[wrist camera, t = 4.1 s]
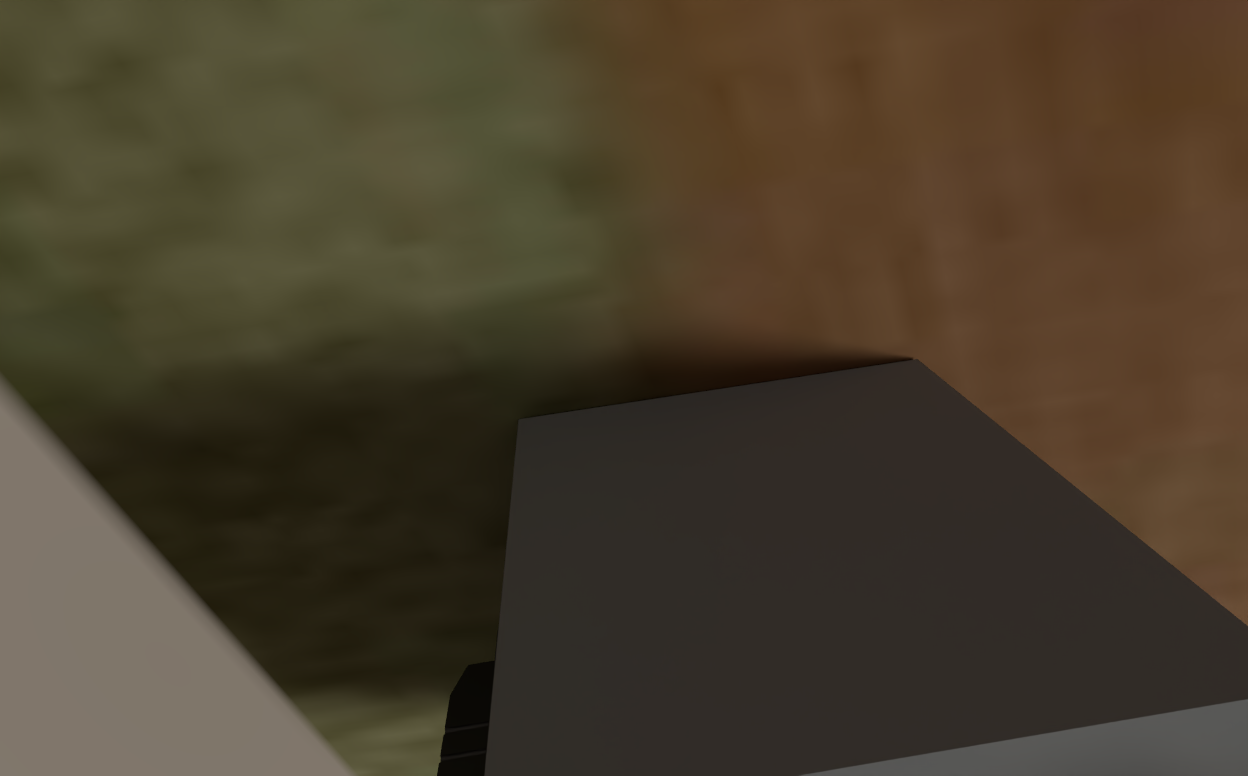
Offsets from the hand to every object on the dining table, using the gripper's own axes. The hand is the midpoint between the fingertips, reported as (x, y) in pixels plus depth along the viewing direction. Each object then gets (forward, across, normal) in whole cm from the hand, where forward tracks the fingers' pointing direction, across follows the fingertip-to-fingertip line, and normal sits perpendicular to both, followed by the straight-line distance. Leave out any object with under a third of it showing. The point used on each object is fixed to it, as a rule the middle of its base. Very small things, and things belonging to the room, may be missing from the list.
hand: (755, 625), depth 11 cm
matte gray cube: (+2, 0, 0) cm, 2 cm away
